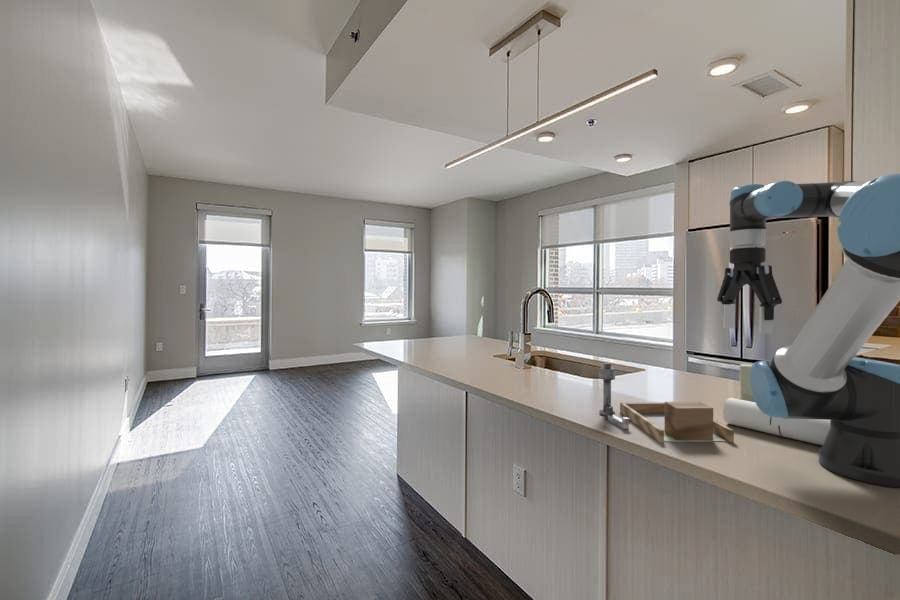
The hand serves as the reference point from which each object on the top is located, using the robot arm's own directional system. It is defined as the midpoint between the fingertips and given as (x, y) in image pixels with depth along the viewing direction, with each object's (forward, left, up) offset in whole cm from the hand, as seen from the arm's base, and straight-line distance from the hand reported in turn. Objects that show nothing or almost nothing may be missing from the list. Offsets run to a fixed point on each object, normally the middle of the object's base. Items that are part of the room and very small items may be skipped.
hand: (746, 331), depth 108 cm
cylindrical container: (+9, -1, -23) cm, 25 cm away
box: (+27, -20, -27) cm, 43 cm away
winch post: (+18, +29, -27) cm, 43 cm away
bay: (+7, +16, -27) cm, 32 cm away
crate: (-2, +16, -26) cm, 31 cm away
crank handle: (+9, +30, -27) cm, 41 cm away
